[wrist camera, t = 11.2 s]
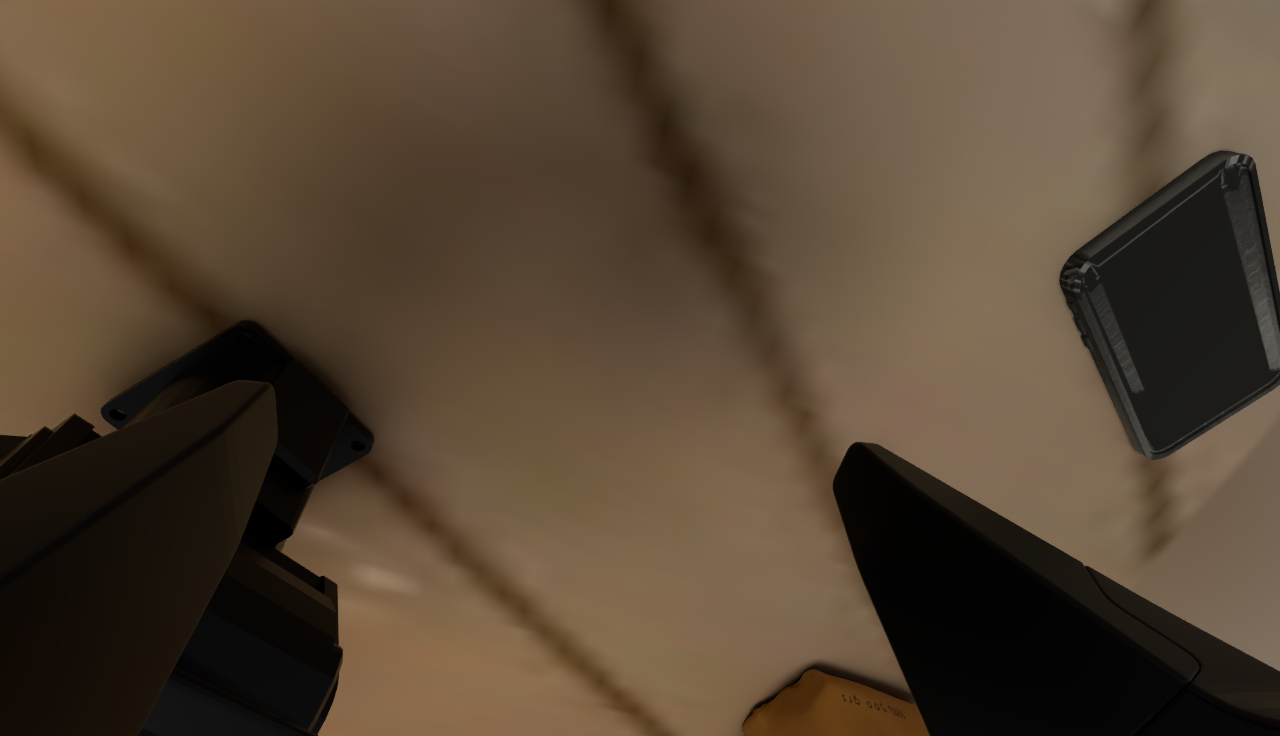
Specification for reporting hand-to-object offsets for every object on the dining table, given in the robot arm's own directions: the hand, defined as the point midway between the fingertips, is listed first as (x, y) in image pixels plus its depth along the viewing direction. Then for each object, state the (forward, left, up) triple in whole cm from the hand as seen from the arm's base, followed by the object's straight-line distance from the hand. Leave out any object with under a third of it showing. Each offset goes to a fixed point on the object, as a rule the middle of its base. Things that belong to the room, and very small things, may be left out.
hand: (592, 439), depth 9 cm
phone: (+22, -19, -14) cm, 32 cm away
